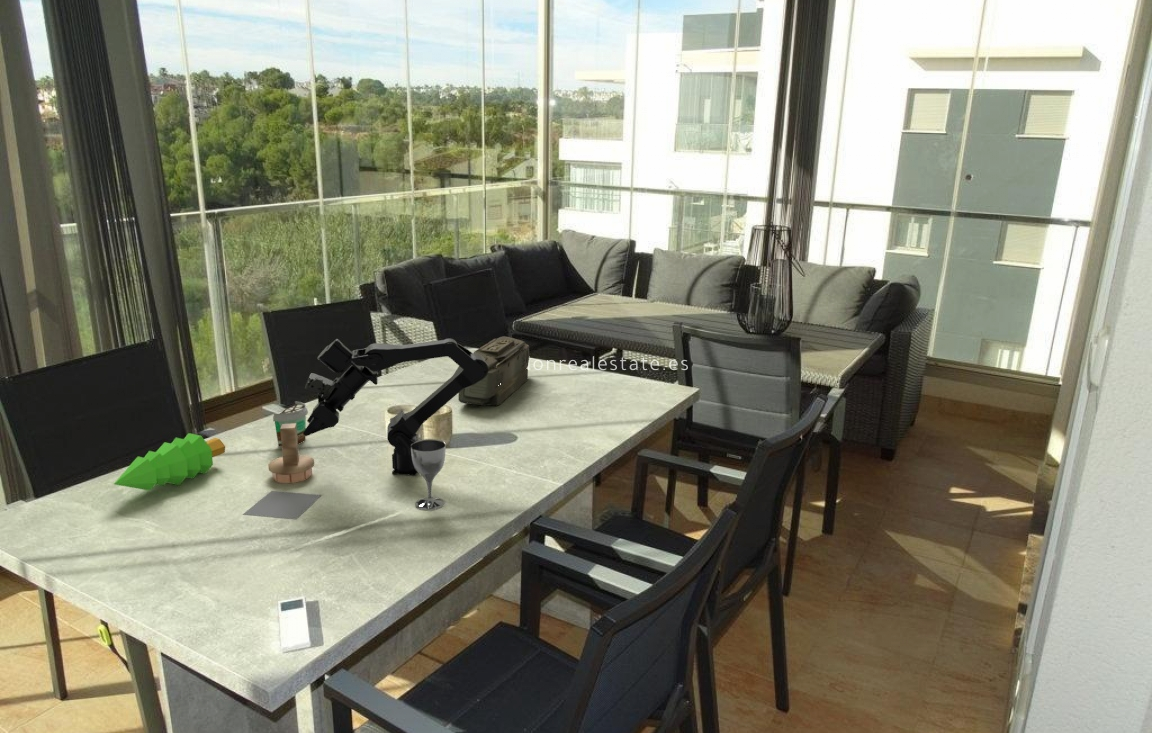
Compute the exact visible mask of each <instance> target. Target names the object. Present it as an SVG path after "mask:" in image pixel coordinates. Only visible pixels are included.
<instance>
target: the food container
mask: <svg viewBox="0 0 1152 733" xmlns="http://www.w3.org/2000/svg"><path fill="white" fill-rule="evenodd" d="M294 403H295V404H293V405H292V406H290V407H287V408H285V409H284V410H283V409H282V411H281V412H280V413H273V416H272V418H273V419H272V421H273V422H274V426H275V431H276V432H275V433H276V439H277V445H278V447H282V444H281V432H280V428H281V426H282V424H293V423H296V425H297V438H298V445H300V444H302V443H304V442H305V441H306V436H305V435H304V434H303V432H304V431H305V429H306V428H307V426H306V422H307V419H306V418H307V415H308V414H309V411H308V407H307V406H306V404H305V403H304V402H301V401H294ZM303 441H304V442H303ZM301 442H302V443H301ZM299 443H300V444H299Z"/></svg>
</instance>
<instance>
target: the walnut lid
mask: <svg viewBox="0 0 1152 733" xmlns="http://www.w3.org/2000/svg"><path fill="white" fill-rule="evenodd" d="M280 432H281V444H282V446H281V452H282V453H281V455H282V456H280V457H278V458H275V459H273V460H271V461H270V462H269V463H268V466H267V468H268V471H269V472H270V473H271V474H272V473H275V474H281V475H290V474H297V473H301V472H305V471H307V470H309V469H311V468H312V469H313V468H314V466H315V460H314V457H311V456H309V455H304V454H299V453H300V452H299V451H300V450H299V444H298V438H297V425H296V423H293V424H282V426H281V428H280Z"/></svg>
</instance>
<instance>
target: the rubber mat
mask: <svg viewBox="0 0 1152 733" xmlns="http://www.w3.org/2000/svg"><path fill="white" fill-rule="evenodd" d="M322 496H323V495H322V494H313V493H303V492H301V493H300V492H291V491H279V490H271V491H269V492H268V493H266V495H265V496H264V497H262V498H260V499H259V500H258V501H257V502H256V503H254V505H252V506H251V507H249V509H248V510H246V511H245V512H243V514H242V515H244V516H254V517H255V516H256V517H264V518H265V517H266V518H277V519H285V520H286V519H288V520H297V519H299V518H300V517H301V516H302V515H303V514H304V513H305V512H306V511H307V510H308V509H309V508H310V507H312V505H314V504H315V503H316V502H317V501H318V500H319V499H320V498H321V497H322Z"/></svg>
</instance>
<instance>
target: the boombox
mask: <svg viewBox="0 0 1152 733" xmlns="http://www.w3.org/2000/svg"><path fill="white" fill-rule="evenodd" d="M473 353H476V354H480V355H481V356H483V357H484V359H485V361H486V363H487V366H488V374H487V376H486V377H485V378H484V379H483V380H481V381H479V382H478V383H476V384H474V385H472V386H470V387H467V388H465V389H463V390H461V391H460V392H459V393H458V402H459V403H462V404H467V405H470V404H471V405H478V406H479V405H484V406H495V405H496V406H497V407H498V406H500V405H501V404H502V403H503V402H504V401H505V400H507V399H508V398H509V397H510V396H511V395H512V394H513V393H515V391H517V390H518V389H520V387H521V386H523V385H524V384H525V383H526V382H527V381H528V378H529V370H528V367H529V363H530V362H529V361H530V346H529V344H527V343H526V341H523V340H521V339H517V338H514V337H509V336H500V337H498V338H493V339H492V340H489V342H488V343H487V342H486V343H485V344H484V345H482V346H481V347H479V348H478V349H476V350H474V352H473ZM500 383H501V385H500ZM498 385H499V386H498Z"/></svg>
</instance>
